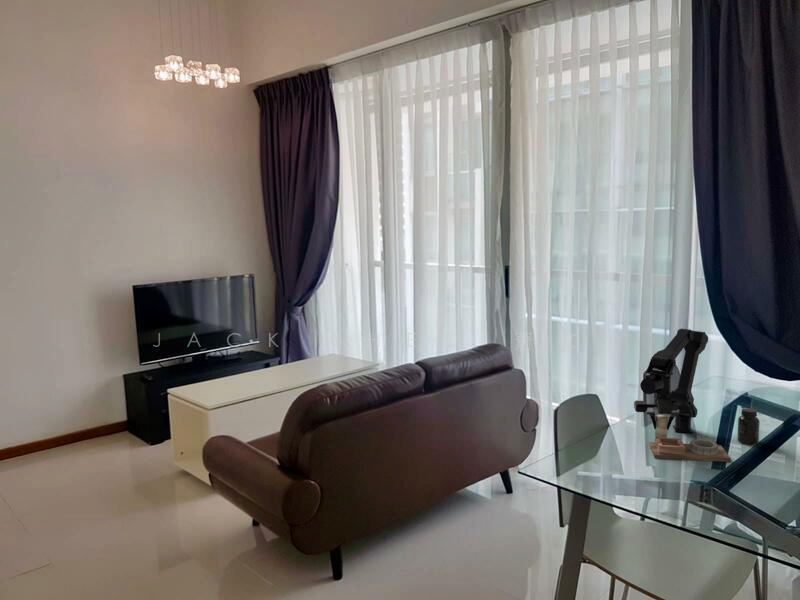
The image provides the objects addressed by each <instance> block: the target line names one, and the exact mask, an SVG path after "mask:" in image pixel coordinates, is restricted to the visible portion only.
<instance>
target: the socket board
mask: <svg viewBox="0 0 800 600" xmlns="http://www.w3.org/2000/svg"><path fill="white" fill-rule="evenodd" d="M648 446H649V449H650V451H651V453H652V456H653V458H654V459H662V460H663V459H665V460H666V459H667V460H684V461H685V460H686V461H687V460H688V461H704V462H706V461H707V462H724V463H726V462H727V463H731V457H730V456H729V454H728V453H727V451H726V450H725V449H724V447H723V446H722V445H721V444H719V445H718V444H717V443H716V442H714V441H711V440H708V439H701V438H700V439H699V438H698V439H692V440H691V441H690V442H689V443H683V441H682V439H681V438H675V437H674V438H673V437H672V438H671V437H667V438H656V437H654V441H653V442H651V441H649V442H648Z"/></svg>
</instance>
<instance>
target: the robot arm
mask: <svg viewBox="0 0 800 600" xmlns="http://www.w3.org/2000/svg"><path fill="white" fill-rule="evenodd" d="M708 341H709V336H708V335H707V334H706V332H705V331H700V330H692V329H690V328H688V329H687V328H679V329H678V330H677V332H676V334H675V335H674V337H673V338H672V339H671V341H670V342H669V343H668V344H667V346H665V348H664V349H661V350H658V351H656V352H655V353H654V354H653V355H652V356H651V357H650V361H649V364H648V365H647V368H646V371H645V372H646V374H645V378H643V379H642V380H641V382H640V390H641V391H642V392H643V394H645V395H653V399H652V400H653V403H647V401H646V400H634V402H633V408H634V411H635V412H637V413H645V414H646V415H649V417H650V419H651V423H652V426H653V428H654V429H653V430H655V429H656V413H655V410H657V413H658V415H666V416H667V431H669V430H670V428H671V425H672V423H673V421H674V424H673V425H672V426H673V427H672V429H673V428H674V429H673V430H674V432H675V433H687V434H688V433H692V434H693V433H694V429H693V428H692V419H693V418H694V419H695V418H697V416H698V408H697V407H696V405H695V403H694V402H695V398H694V396H693V392H692V388H693V384H694V383H693V382H694V379H695V375H696V369H697V367H698V366H697V364H698V361H699V356H700V354H702V352H704V351H705V350H706V347H707V344H708ZM683 349H684V355H683V356H684V357H683V361H682V365H681V370H680V374H679V378H678V379H679V380H678V384H677V387H676V388H675V390H672V391H671V388H672V387H671V386H672V385H671V383H672V381H671V380H672V376H673V375H674V372H673V370H674V369H675V367H676V365H677V360H676V359H677V358H678V356H679V355H680V354H681V352H682V351H683Z"/></svg>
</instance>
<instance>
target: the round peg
mask: <svg viewBox="0 0 800 600" xmlns="http://www.w3.org/2000/svg"><path fill="white" fill-rule="evenodd" d="M667 416H668V415H666V414H657V415H656V414H655V421H656V429H654V430H655V432H654V435H655V437H654V438H668V430H667Z"/></svg>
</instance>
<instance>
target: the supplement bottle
mask: <svg viewBox="0 0 800 600" xmlns="http://www.w3.org/2000/svg"><path fill="white" fill-rule="evenodd" d="M740 414H741V415H739V417H737V434H736V435H737V436H736V437H737V438H736V439H737V441H738V443H740V444H745V445H748V444H749V445H750V446H755V445H757V444H759V442H760V441H759V440H760V422H761V421H760V419H759V418H758V417H757V416H758V410H756V409H754V408H749V407H748V408H746V407H744V408H741V412H740ZM754 444H755V445H754ZM749 445H748V446H749Z"/></svg>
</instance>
